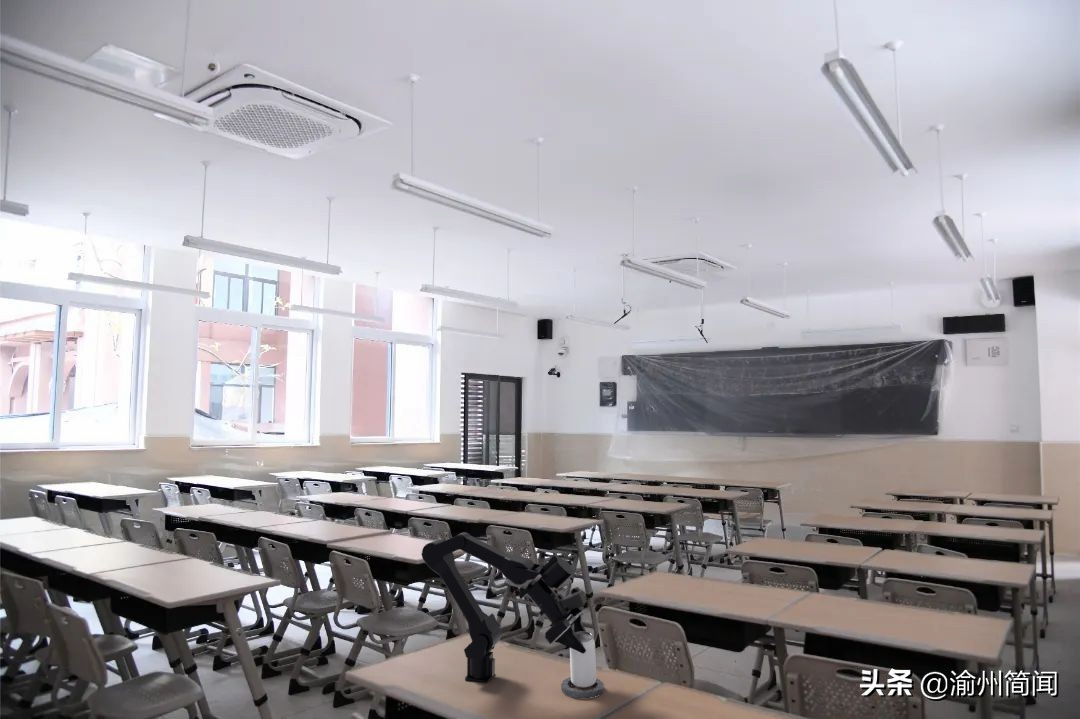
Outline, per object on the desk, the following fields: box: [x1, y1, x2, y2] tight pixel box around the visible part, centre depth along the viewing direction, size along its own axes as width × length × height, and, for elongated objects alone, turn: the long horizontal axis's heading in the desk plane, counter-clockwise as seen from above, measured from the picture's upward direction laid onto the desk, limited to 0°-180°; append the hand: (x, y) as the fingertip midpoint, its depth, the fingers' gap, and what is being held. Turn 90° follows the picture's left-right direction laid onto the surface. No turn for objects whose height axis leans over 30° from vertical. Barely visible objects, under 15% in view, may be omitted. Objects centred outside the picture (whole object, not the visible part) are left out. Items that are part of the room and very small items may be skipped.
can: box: [569, 631, 597, 689], centre depth 177 cm, size 6×6×12 cm
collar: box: [560, 676, 605, 699], centre depth 175 cm, size 10×10×2 cm
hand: (587, 648), depth 176 cm, fingers closed on can, 6 cm apart
